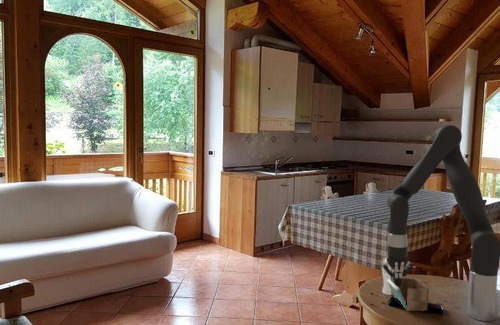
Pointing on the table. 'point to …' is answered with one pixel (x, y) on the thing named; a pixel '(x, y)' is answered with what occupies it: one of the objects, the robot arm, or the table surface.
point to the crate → (414, 294)
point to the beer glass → (386, 276)
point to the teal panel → (397, 293)
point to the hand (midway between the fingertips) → (397, 286)
